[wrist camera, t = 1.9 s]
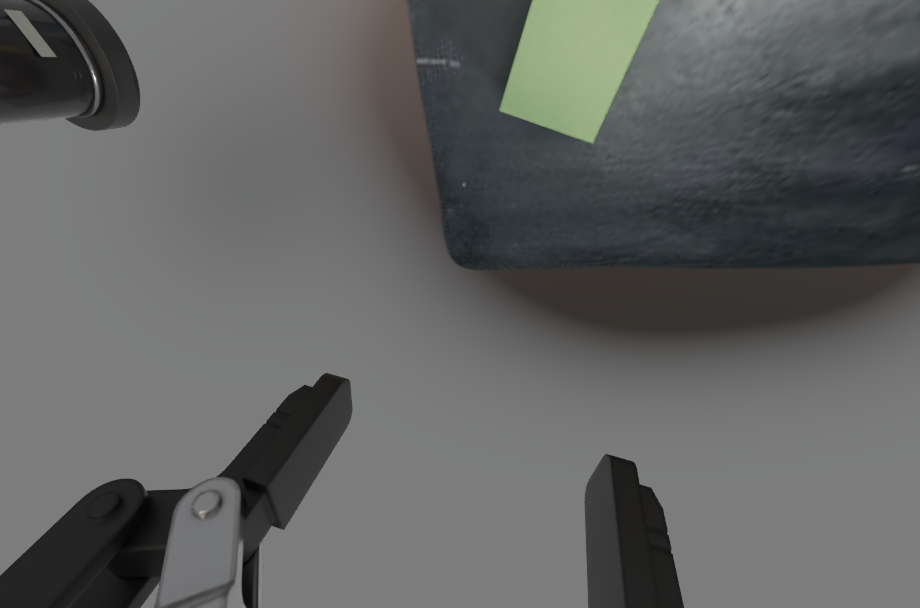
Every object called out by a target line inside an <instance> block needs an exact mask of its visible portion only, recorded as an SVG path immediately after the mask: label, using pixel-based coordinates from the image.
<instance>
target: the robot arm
mask: <svg viewBox="0 0 920 608" xmlns="http://www.w3.org/2000/svg"><path fill="white" fill-rule="evenodd" d="M104 101H105V89H104V83H103V79H102V75H101V72H100V70H99V67H98V64H97V62H96V60H95V58H94V56H93V54H92V52H91V50H90V49H89V47H88V45H87V44H86V42H85V41H84V39H83V38H82V36H81V35H80V34H79V32H78V31H77V30H76V29H75V27H74V26H73V25H72V24H71V23H70V22H69V21H68V20H67V19H66V18H65V17H64V16H63V15H62V14H61V13H60V12H59V11H58V10H57V9H55V8H54V7H53V6H51V5H50V4H48V3H47V2H45V1H43V0H0V125H1V124H10V123H21V122H31V121H40V120H51V119H61V118H71V117H76V118H83V117H91V116H95V115H97V114H98V113H99V112H100V111H101V109H102V108H103V105H104ZM351 415H352V399H351V388H350V381H349V379H346V378H342V377H339V376H336V375H332V374H329V373H325V374H324V375H322V376H321V377H320V379H319V380H318V381H317V382H316V384H315V385H314V386H313V387H310V386H307V385H304V386H302V387H301V388H299V389H298V390H296V391H295V392H293V393H292V394H290V395H288V397H287V398H286V399H285V400H284V401H283V402H282V404H281V405H280V406H279V407H278V408H277V410H276V412H274V413H273V414H272V415H271V416H270V418H269V419H268V420H267V423H266V424H264V425H263V426H262V427H261V428H260V429H259V431H258V432H257V433H256V434H255V435H254V436H253V438H252V439H251V440H250V442H248V444H247V445H246V446H245V447H244V448H243V449H242V451H241V452H240V453H239V454H238V455H237V456H236V458H235V459H234V460H233V461H232V462H231V464H230V465H229V466H228V467H227V468H226V469H225V470H224V471H223V472H222V473H221V474H220V475H218V476H217V477H216V478H211V479H208V480H205V481H203V482H201V483H199V484H197V485H196V486H194V487H193V488H190V489H181V490H152V491H146V490H145V489H144V487H143V486H142V485H141V483H139V482H138V481H136V480H133V479H118V480H114V481H111V482H108V483H106V484H103V485H101V486H99V487H98V488H96V489H94V490H92V491H91V492H90V493H88V494H87V495H85V496H84V497H83V498H82V499H81V500H80V501H79V502H78V503H76V504H75V505H74V506H73V507H72V508H71V509H70V510H69V511H68V512H67V513H66V514H65V515H64V516H63V517H62V518H61V519H60V520H59V521H58V522H57V523H55V524H54V525H53V526H52V527H51V528H50V529H49V530H48V531H47V532H46V533H45V534H44V535H43V536H42V537H41V538H40V539H39V540H37V541H36V542H35V543H34V544H33V545H32V546H31V547H30V548H29V549H28V550H27V551H26V552H25V553H24V554H23V555H22V556H21V557H20V558H18V559H17V560H16V561H15V562H14V563H13V564H12V565H11V566H10V567H9V568H8V569H7V570H6V571H5V572H4V573H3V574H2V575H1V576H0V608H140V607H141V606H142V605H143V603H144V602H145V600H146V599H147V598H148V596H149V595H150V594H151V593H152V591H153V590H154V588H155V587H156V586H157V584H158V583H159V582H160V583H159V588H158V593H157V599H156V603H155V607H154V608H262V568H263V564H262V563H263V538H264V537H265V535H266V534H267V532H268V531H269V529H270V528H271V526H274V527H277V528H280V529H283V530H284V529H285V527H286V526H287V524H288V522H289V521H290V519H291V518H292V516H293V514H294V513H295V511H296V510H297V508H298V506H299V504H300V503H301V501H302V500H303V498H304V496H305V495H306V493H307V492H308V490H309V488H310V487H311V485H312V483H313V482H314V480H315V479H316V477H317V475H318V474H319V472H320V470H321V469H322V467H323V466H324V464H325V462H326V460H327V459H328V457H329V456H330V454H331V452H332V451H333V449H334V448H335V446H336V444H337V442H338V441H339V439H340V438H341V436H342V435H343V433H344V431H345V430H346V428H347V426H348V424H349V422H350V419H351ZM585 525H586V553H587V578H588V579H587V580H588V605H589V607H588V608H684V606H683V601H682V596H681V592H680V587H679V582H678V577H677V573H676V568H675V563H674V559H673V554H671V545H670V540H669V536H668V535H667V526H666V521H665V516H664V512H663V508H662V506H661V505H660V503H659V502H658V499H657V498H656V496H655V494H654V492H653V490H652V489H651V488H649V487H646V486H643V485H640V484H639V478H638V473H637V468H636V465H635V463H634V462H632V461H629V460H625V459H622V458H619V457H615V456H611V455H608V454H605V455H604V456H603V458H602V459H601V461H600V463H599V464H598V466H597V468H596V469H595V471H594V472H593V474H592V476H591V478H590V479H589V481H588V483H587V487H586V492H585Z"/></svg>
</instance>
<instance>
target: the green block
mask: <svg viewBox="0 0 920 608" xmlns="http://www.w3.org/2000/svg"><path fill="white" fill-rule="evenodd" d="M659 1H660V0H532V1H531V5H530V8H529V11H528V15H527V18H526V21H525V25H524V28H523V31H522V35H521V38H520V41H519V45H518V48H517V51H516V55H515V58H514V61H513V65H512V68H511V71H510V75H509V78H508V81H507V85H506V88H505V91H504V95H503V98H502V101H501V105H500V108H499V111H500V112H503V113H506V114H508V115H511V116H514V117H517V118H520V119H523V120H525V121H528V122H531V123H534V124H537V125H540V126H542V127H545V128H548V129H551V130H554V131H557V132H559V133H562V134H565V135H568V136H571V137H574V138H577V139H579V140H582V141H585V142H588V143H591V144H593V143H594V140H595V138H596V136H597V134H598V132H599V130H600V128H601V125H602V123H603V121H604V119H605V117H606V115H607V113H608V110H609V108H610V106H611V104H612V102H613V100H614V98H615V95H616V93H617V91H618V89H619V87H620V85H621V83H622V81H623V78H624V76H625V74H626V72H627V70H628V68H629V66H630V63H631V61H632V59H633V57H634V55H635V53H636V51H637V48H638V46H639V44H640V42H641V40H642V38H643V36H644V33H645V31H646V29H647V27H648V25H649V23H650V21H651V18H652V16H653V14H654V12H655V10H656V8H657V6H658V3H659Z"/></svg>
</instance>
